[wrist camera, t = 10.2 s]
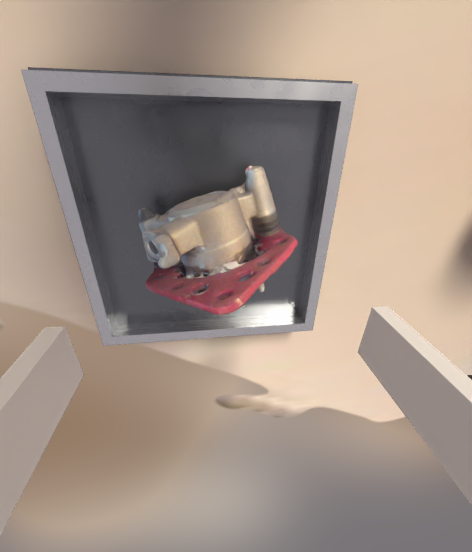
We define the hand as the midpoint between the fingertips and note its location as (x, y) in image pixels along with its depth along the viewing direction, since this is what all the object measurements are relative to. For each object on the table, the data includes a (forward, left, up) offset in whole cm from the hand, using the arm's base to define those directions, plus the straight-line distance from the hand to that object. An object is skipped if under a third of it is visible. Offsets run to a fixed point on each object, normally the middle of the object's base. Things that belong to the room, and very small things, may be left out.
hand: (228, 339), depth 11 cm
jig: (-1, -1, -14) cm, 14 cm away
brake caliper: (-1, 0, -13) cm, 13 cm away
